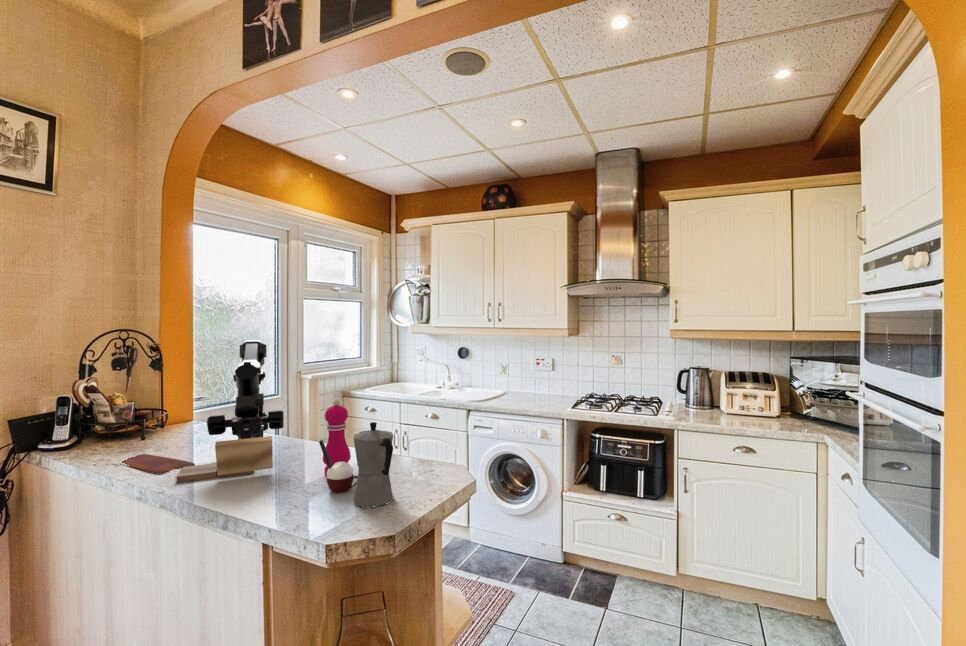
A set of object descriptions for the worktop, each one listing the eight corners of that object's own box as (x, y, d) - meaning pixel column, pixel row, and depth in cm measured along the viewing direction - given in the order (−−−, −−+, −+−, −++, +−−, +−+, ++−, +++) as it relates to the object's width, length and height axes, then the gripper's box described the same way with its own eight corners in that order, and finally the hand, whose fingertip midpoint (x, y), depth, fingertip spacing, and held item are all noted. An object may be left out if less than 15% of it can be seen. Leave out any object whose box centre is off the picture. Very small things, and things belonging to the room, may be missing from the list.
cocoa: (361, 489, 110) (364, 441, 110) (344, 498, 104) (347, 446, 104) (331, 482, 114) (334, 435, 114) (313, 490, 108) (316, 441, 108)
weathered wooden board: (183, 472, 122) (183, 466, 122) (255, 463, 129) (255, 458, 129) (176, 482, 114) (176, 476, 114) (254, 472, 122) (254, 466, 122)
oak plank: (217, 475, 116) (218, 470, 117) (272, 468, 121) (272, 463, 123) (215, 446, 112) (215, 441, 113) (272, 440, 117) (272, 435, 118)
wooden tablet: (197, 467, 129) (197, 461, 129) (159, 477, 120) (159, 471, 120) (147, 454, 141) (147, 449, 141) (109, 463, 132) (109, 458, 132)
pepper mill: (356, 470, 123) (355, 398, 123) (337, 479, 116) (337, 403, 116) (336, 467, 126) (335, 397, 126) (316, 475, 119) (316, 401, 119)
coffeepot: (342, 496, 105) (342, 420, 105) (379, 487, 110) (379, 415, 110) (371, 518, 93) (370, 432, 93) (410, 506, 98) (410, 426, 98)
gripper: (207, 386, 120) (201, 436, 110) (283, 382, 128) (283, 428, 118) (211, 410, 127) (206, 459, 117) (283, 405, 135) (283, 450, 125)
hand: (245, 448), depth 119 cm, fingers closed
